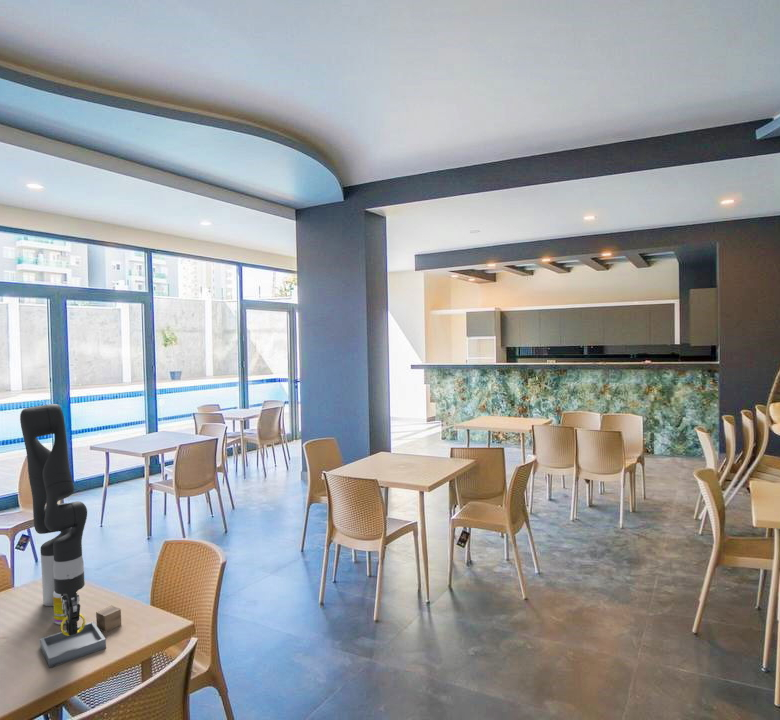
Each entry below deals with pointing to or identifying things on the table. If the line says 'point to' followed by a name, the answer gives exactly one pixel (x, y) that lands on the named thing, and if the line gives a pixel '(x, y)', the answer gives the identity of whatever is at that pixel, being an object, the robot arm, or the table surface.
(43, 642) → the slate tray
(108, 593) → the table surface
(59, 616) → the supplement bottle
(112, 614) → the walnut block
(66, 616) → the watch
